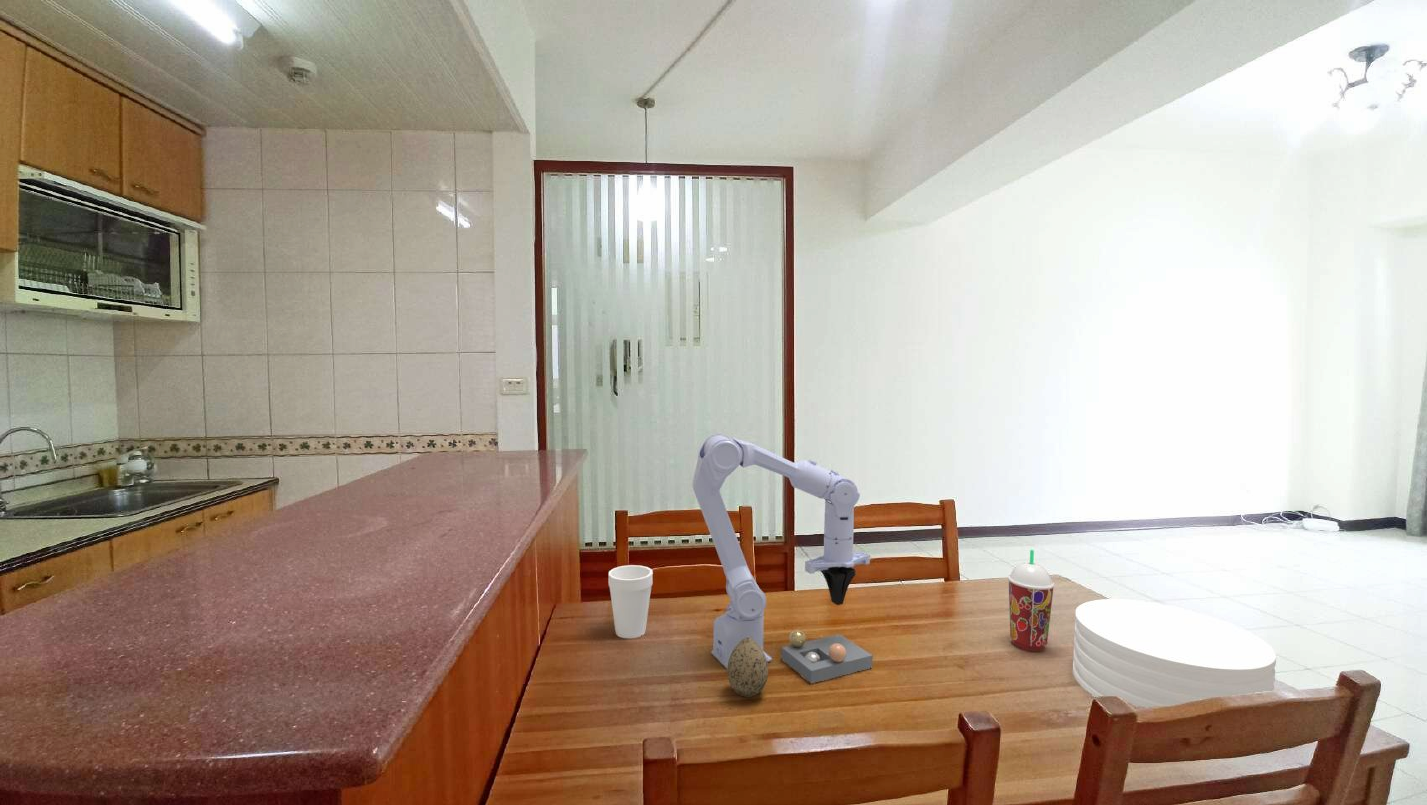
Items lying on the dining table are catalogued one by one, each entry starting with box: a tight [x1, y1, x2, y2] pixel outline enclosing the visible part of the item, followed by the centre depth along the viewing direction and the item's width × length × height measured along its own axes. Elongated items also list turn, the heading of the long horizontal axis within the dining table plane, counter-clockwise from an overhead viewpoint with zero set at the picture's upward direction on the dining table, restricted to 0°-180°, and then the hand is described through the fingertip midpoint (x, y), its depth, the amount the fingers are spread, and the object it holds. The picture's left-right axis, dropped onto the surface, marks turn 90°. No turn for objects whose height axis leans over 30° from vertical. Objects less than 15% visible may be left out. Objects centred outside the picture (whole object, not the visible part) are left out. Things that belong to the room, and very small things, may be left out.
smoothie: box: [1007, 549, 1055, 652], centre depth 123 cm, size 8×8×20 cm
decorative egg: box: [726, 638, 769, 698], centre depth 103 cm, size 7×7×10 cm
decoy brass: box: [788, 629, 807, 647], centre depth 116 cm, size 3×3×3 cm
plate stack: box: [1072, 598, 1277, 708], centre depth 106 cm, size 28×28×12 cm
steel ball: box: [805, 652, 821, 663], centre depth 112 cm, size 3×3×3 cm
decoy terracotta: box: [829, 643, 846, 662], centre depth 111 cm, size 3×3×3 cm
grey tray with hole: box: [780, 633, 874, 684], centre depth 114 cm, size 14×10×2 cm
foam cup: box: [608, 564, 654, 639], centre depth 127 cm, size 10×9×13 cm
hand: (837, 603), depth 119 cm, fingers closed
